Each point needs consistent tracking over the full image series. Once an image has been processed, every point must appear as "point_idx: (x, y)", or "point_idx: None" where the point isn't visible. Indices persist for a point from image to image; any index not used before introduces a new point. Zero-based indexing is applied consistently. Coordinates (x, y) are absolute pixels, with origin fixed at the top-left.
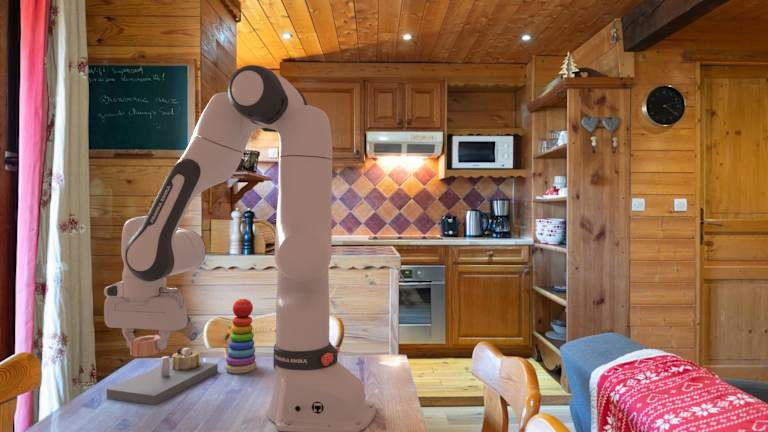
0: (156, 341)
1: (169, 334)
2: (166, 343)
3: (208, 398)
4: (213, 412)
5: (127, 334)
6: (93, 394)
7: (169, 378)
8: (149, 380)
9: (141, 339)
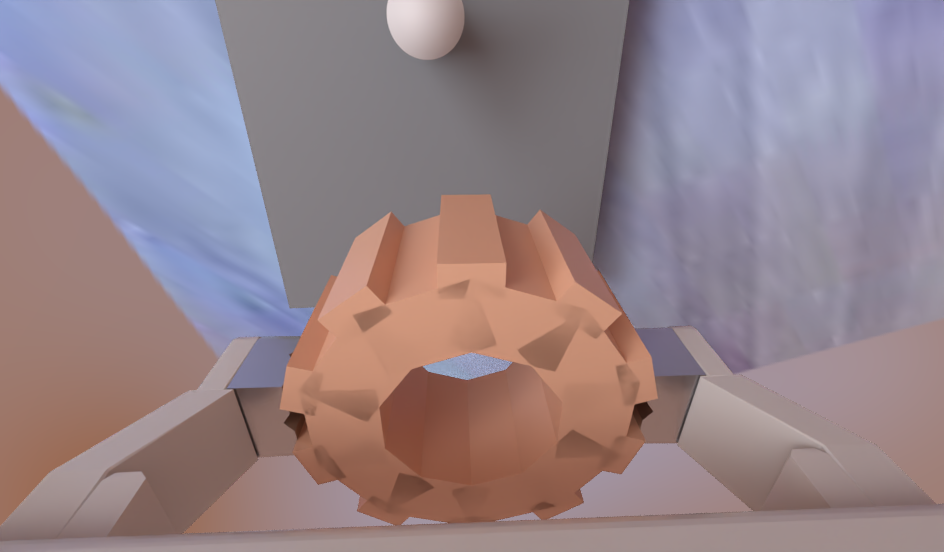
0: (637, 432)
1: (838, 437)
2: (710, 351)
3: (792, 136)
4: (858, 255)
5: (188, 510)
6: (194, 272)
7: (493, 58)
8: (394, 135)
9: (384, 414)
